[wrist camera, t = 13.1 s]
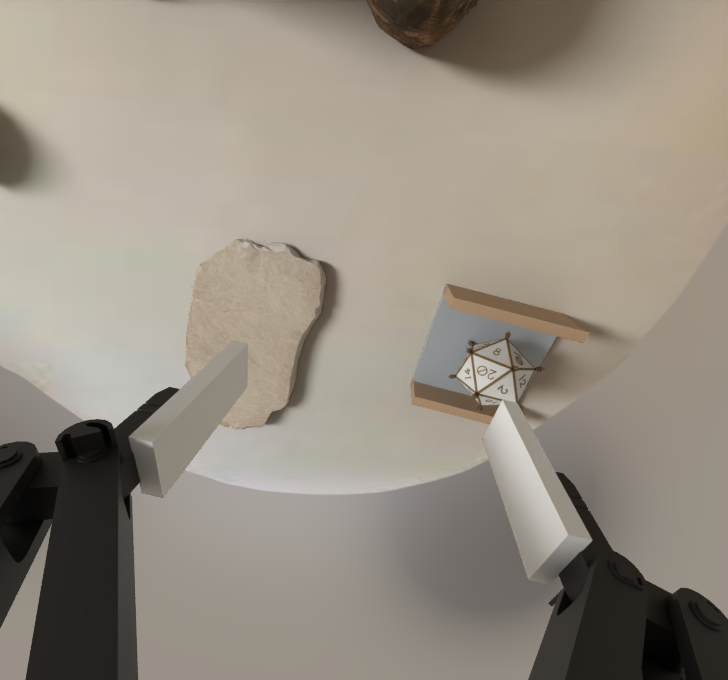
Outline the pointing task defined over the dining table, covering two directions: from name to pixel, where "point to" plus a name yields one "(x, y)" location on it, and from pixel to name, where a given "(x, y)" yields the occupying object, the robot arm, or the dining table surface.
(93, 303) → the dining table surface
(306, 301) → the stone tablet
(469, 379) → the game die
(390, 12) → the woven dome ornament
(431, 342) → the track
